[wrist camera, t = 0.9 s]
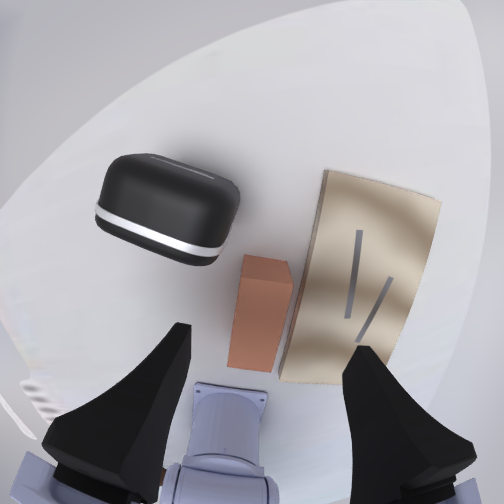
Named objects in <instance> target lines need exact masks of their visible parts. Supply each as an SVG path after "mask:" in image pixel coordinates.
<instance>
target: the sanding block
mask: <svg viewBox="0 0 504 504" xmlns="http://www.w3.org/2000/svg"><path fill="white" fill-rule="evenodd" d="M293 286H294V284H293V280H292V277H291V274H290V271H289V267H288V264H287V261H282V260H276V259H269V258H263V257H257V256H251V255H244V259H243V265H242V271H241V278H240V284H239V290H238V296H237V302H236V309H235V315H234V321H233V327H232V334H231V341H230V348H229V356H228V363H227V367H232V368H239V369H246V370H254V371H262V372H271V371H272V368H273V364H274V360H275V357H276V353H277V349H278V346H279V342H280V338H281V334H282V330H283V326H284V323H285V319H286V315H287V311H288V307H289V303H290V299H291V294H292V290H293Z"/></svg>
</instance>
